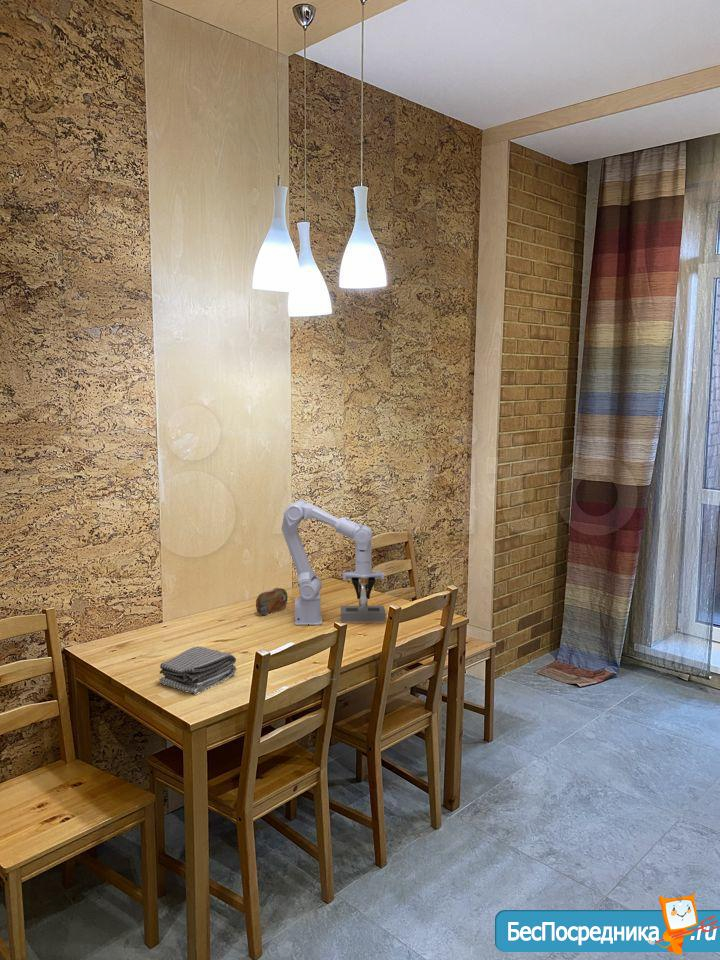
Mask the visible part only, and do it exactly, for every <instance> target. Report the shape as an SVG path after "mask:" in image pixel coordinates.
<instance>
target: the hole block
mask: <svg viewBox="0 0 720 960" xmlns="http://www.w3.org/2000/svg"><path fill="white" fill-rule="evenodd" d="M386 617H387V616H386V609H385V605H367V607H364V608H362V607H359V605H341V606H340V623H341V622H346V623H345V624H357V623H359V624H360V623H361V624H368V623H369V624H372V623H375V624H376V623H378V624H379V623H380V624H381V623H383V624H384V623H385V624H386Z"/></svg>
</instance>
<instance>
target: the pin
mask: <svg viewBox="0 0 720 960" xmlns="http://www.w3.org/2000/svg"><path fill="white" fill-rule="evenodd" d="M367 596H368V583H366V582H365V583H364V582H362V583H361V582H360V583H359V599H358V606H359V607H362V608H364V607H367V606H368V599H367Z"/></svg>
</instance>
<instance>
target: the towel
mask: <svg viewBox="0 0 720 960" xmlns="http://www.w3.org/2000/svg"><path fill="white" fill-rule="evenodd" d="M235 663H237V658H236V657H235V656H234V655H233V654H231V653H228V652H223V651H220V650H217V649H216V650H215V649H211V648H208V647H205V646H192V647H191V648H188V649H187V650H185V651H183V652H181V653H179V654H178V655H176V656H175V657H172V658H169V659H168V660H166V661H162V662H161V664H160V666H159V668H160V669H161V670H159V674H162V676H163V677H162V676H161V677H160V678H159V681H160V684H161V683H162V684H165V685H168V686H167V687H170V686H172V687H175V688H179V689H181V690H180V691H182V690H184V691H188V692H191V693H194V694H197V693H198V692H201V691H203V690H205V689H207V690H209V689H211V688H210V687H211V686H214V685H215V684H218V683H219V684H221V683H220V682H221V681H224V680H225V679H227V678H229V679H231V678H232V677H233V676H234V675H235V673H236V671H237V667H236V666H235ZM227 680H228V679H227ZM225 681H226V680H225ZM225 681H224V682H225ZM162 684H161V685H162ZM219 684H218V685H219ZM165 685H164V686H165ZM172 687H171V688H172ZM214 687H215V686H214ZM175 688H174V689H175ZM208 688H209V689H208ZM184 691H183V692H184ZM205 691H206V690H205ZM203 692H204V691H203ZM191 693H190V694H191ZM201 693H202V692H201ZM194 694H193V695H194ZM197 695H198V694H197Z"/></svg>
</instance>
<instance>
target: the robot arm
mask: <svg viewBox="0 0 720 960" xmlns="http://www.w3.org/2000/svg"><path fill="white" fill-rule="evenodd" d="M310 519H315V520H317V521H319V522H322V523H324V524H327V525H329V526H332V527H333V528H334V529H335V531H336V533H338V534H341V535H343V536H345V537H347V538H349V539H351V540H353V541H354V543H355V552H354V553H355V556H354V557H355V560H354V562H355V563H354V564H355V565H354V566H355V570H354V571H346V572H345V571H344V572H342V579H343V580H346V579H350V580H351V583H352V585H353V587H354V590H355V593H356V598H357V600H359V584H360V579H367V584H368V596H367V600H370V596H371V594H372V591H373V587H374V586H375V583H376V579H381V580H384V579H385V572H383V571H382V572H380V571H372V558H373V557H372V551H373V550H372V541H371V540H372V539H373V536H374V535H373V534H374V533H373V530H372V529H371V528H370V527H369V526H368V525H363V524H362V523H356V522H355V521H352V520H350V517H348V516H347V517H344V516H343V517H342V516H341V517H340V518H339V517H336V516H335V515H332V514H331V513H329V512H327V511H325V510H323V509H321V508H319V507H318V506H315V505H314V504H312V503H310V502H306V501H305V500H302V499H297V500H295V502H293V503H292V504H289V505H288V506H287V507H286V509H285V510H284V512H283V519H282V523H281V524H282V525H281V533H282V535H283V537H284V541H285V543H286V545H287V548H288V550H289V553H290V557H291V560H292V562H293V565H294V568H295V570H296V573H297V583H298V587H299V588H298V593H299V596H300V597H295V599H294V614H293V615H294V625H295V626H312V625H313V626H318V625H319V626H321V625H322V623H323V617H322V615H321V614H322V613H321V612H322V611H321V610H322V609H321V603H322V602H321V599H322V598H321V594H320V591H321V590H322V588H323V585H322V584H323V583H322V581H321V580H320V578H318V577H317V573H316V572H315V571H314V570H313V569H312V566H311V564H310V561H309V559H308V556H307V553H306V550H305V548H304V545H303V542H302V539H301V536H300V534H299V531H298V527H299V525H300V523H301V522H302V520H310ZM308 624H309V625H308Z"/></svg>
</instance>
